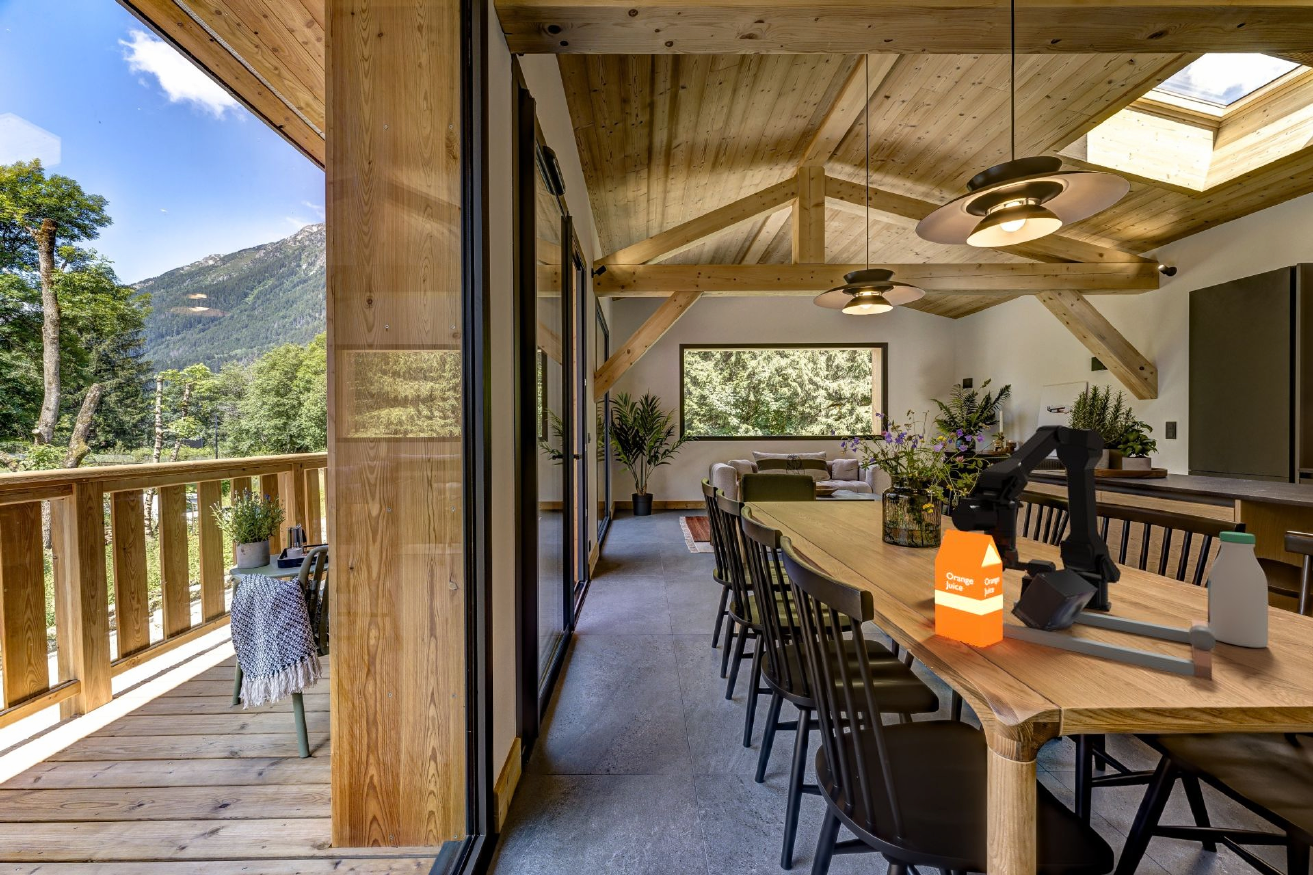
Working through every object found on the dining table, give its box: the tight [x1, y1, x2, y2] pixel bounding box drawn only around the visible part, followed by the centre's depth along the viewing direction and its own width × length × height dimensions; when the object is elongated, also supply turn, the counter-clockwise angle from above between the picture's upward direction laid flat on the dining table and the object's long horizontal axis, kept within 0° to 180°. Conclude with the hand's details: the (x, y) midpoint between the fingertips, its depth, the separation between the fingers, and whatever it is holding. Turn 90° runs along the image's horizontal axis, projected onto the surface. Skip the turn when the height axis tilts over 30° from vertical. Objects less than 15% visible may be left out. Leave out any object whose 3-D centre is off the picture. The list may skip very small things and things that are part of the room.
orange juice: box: [934, 528, 1004, 648], centre depth 106 cm, size 8×9×20 cm
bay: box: [1003, 599, 1217, 681], centre depth 104 cm, size 21×30×7 cm
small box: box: [1010, 568, 1098, 633], centre depth 108 cm, size 11×6×10 cm, turn 115°
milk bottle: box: [1207, 531, 1269, 649], centre depth 102 cm, size 8×8×20 cm
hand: (998, 604), depth 115 cm, fingers open, 8 cm apart
